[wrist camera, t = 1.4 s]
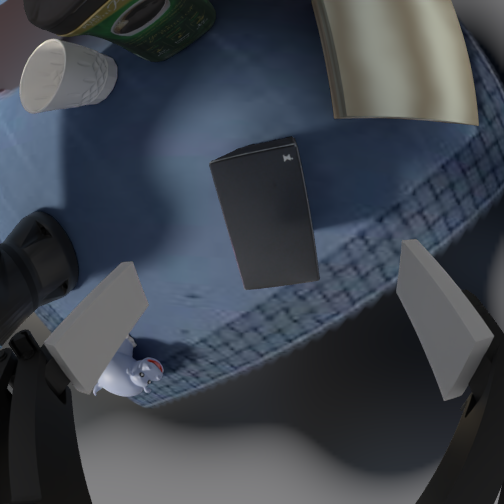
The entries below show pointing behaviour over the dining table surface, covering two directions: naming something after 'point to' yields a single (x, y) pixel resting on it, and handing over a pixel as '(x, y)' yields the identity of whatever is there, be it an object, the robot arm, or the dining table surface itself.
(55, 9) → the coffee jar
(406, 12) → the plinth
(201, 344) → the dining table surface
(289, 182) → the small box
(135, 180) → the dining table surface
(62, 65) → the white cup
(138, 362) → the hippopotamus toy
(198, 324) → the dining table surface
